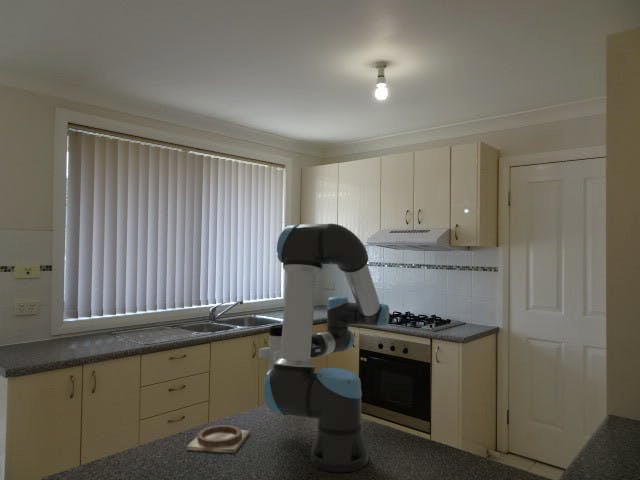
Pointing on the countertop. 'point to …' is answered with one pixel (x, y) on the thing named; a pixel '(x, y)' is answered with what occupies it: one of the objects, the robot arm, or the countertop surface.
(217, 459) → the countertop surface
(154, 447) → the countertop surface
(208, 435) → the mug stand
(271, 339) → the travel mug
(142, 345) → the countertop surface
